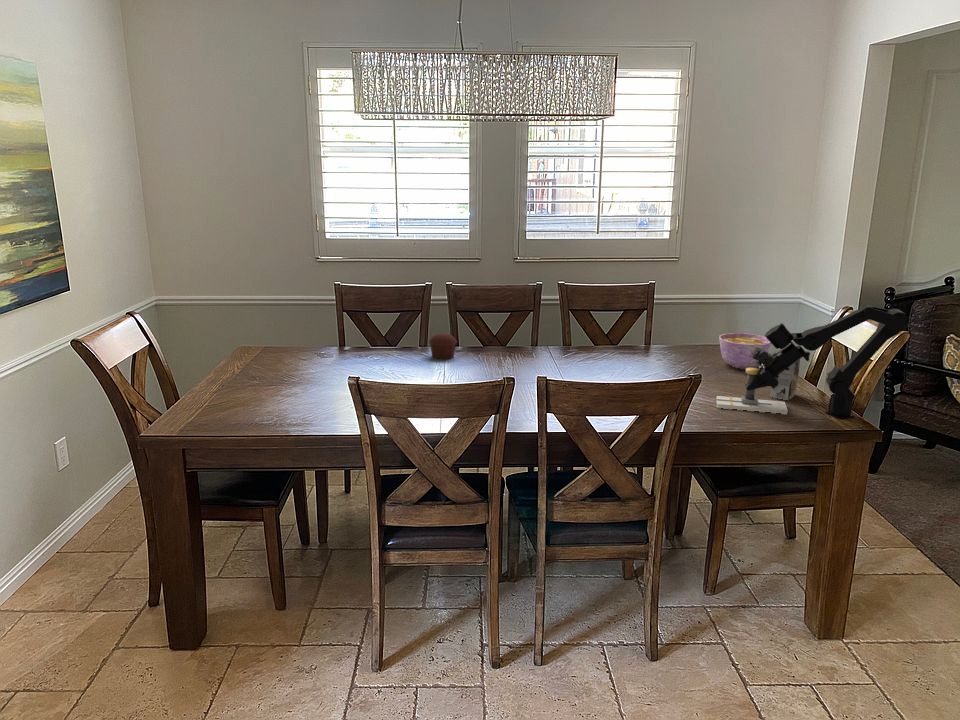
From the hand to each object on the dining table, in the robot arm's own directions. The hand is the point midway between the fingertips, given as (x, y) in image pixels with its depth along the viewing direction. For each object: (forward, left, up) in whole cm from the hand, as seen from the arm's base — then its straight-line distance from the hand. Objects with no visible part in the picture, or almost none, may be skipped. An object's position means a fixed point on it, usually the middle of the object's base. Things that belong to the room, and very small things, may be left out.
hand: (746, 387), depth 246 cm
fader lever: (-1, -1, -5) cm, 5 cm away
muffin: (+92, +81, -7) cm, 122 cm away
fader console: (-1, -2, -7) cm, 7 cm away
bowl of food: (+42, -31, -7) cm, 53 cm away
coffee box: (+6, -20, -7) cm, 22 cm away
